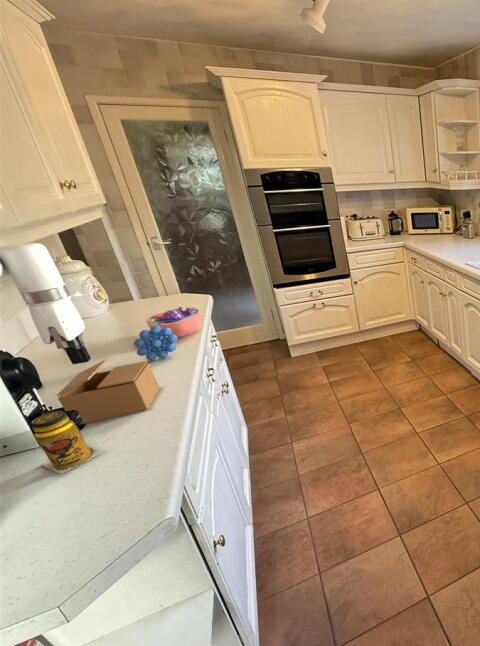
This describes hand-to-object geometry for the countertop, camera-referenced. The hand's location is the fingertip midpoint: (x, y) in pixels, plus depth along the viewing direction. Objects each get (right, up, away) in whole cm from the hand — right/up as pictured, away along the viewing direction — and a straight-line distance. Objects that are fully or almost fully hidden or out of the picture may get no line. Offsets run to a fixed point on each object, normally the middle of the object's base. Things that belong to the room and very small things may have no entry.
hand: (82, 361), depth 103 cm
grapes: (-10, -1, +35) cm, 36 cm away
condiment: (+12, -22, -13) cm, 28 cm away
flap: (-1, -4, +1) cm, 4 cm away
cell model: (-19, +7, +54) cm, 58 cm away
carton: (+3, -13, +7) cm, 15 cm away
